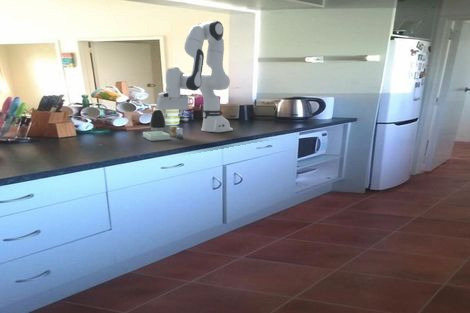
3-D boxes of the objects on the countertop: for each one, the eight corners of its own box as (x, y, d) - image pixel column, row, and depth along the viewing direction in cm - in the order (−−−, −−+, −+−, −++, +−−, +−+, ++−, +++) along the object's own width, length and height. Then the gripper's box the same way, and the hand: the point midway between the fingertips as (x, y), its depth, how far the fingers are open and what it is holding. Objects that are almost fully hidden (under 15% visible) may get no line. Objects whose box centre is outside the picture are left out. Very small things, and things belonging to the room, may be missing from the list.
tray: (161, 135, 228) (161, 130, 228) (170, 139, 217) (170, 134, 216) (142, 137, 222) (142, 132, 221) (150, 141, 211) (150, 135, 210)
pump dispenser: (167, 131, 246) (167, 108, 243) (163, 133, 236) (162, 110, 233) (153, 130, 247) (152, 108, 244) (148, 132, 237) (147, 109, 233)
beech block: (175, 135, 232) (175, 125, 231) (178, 136, 229) (177, 126, 228) (169, 135, 230) (169, 126, 229) (172, 136, 227) (172, 127, 226)
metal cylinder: (181, 137, 225) (181, 127, 224) (184, 138, 222) (183, 128, 220) (175, 137, 223) (175, 128, 222) (177, 138, 220) (177, 129, 218)
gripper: (186, 94, 232) (186, 115, 235) (155, 93, 221) (155, 116, 224) (190, 94, 227) (190, 117, 229) (159, 94, 216) (159, 117, 219)
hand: (172, 116), depth 226 cm, fingers open, 8 cm apart
